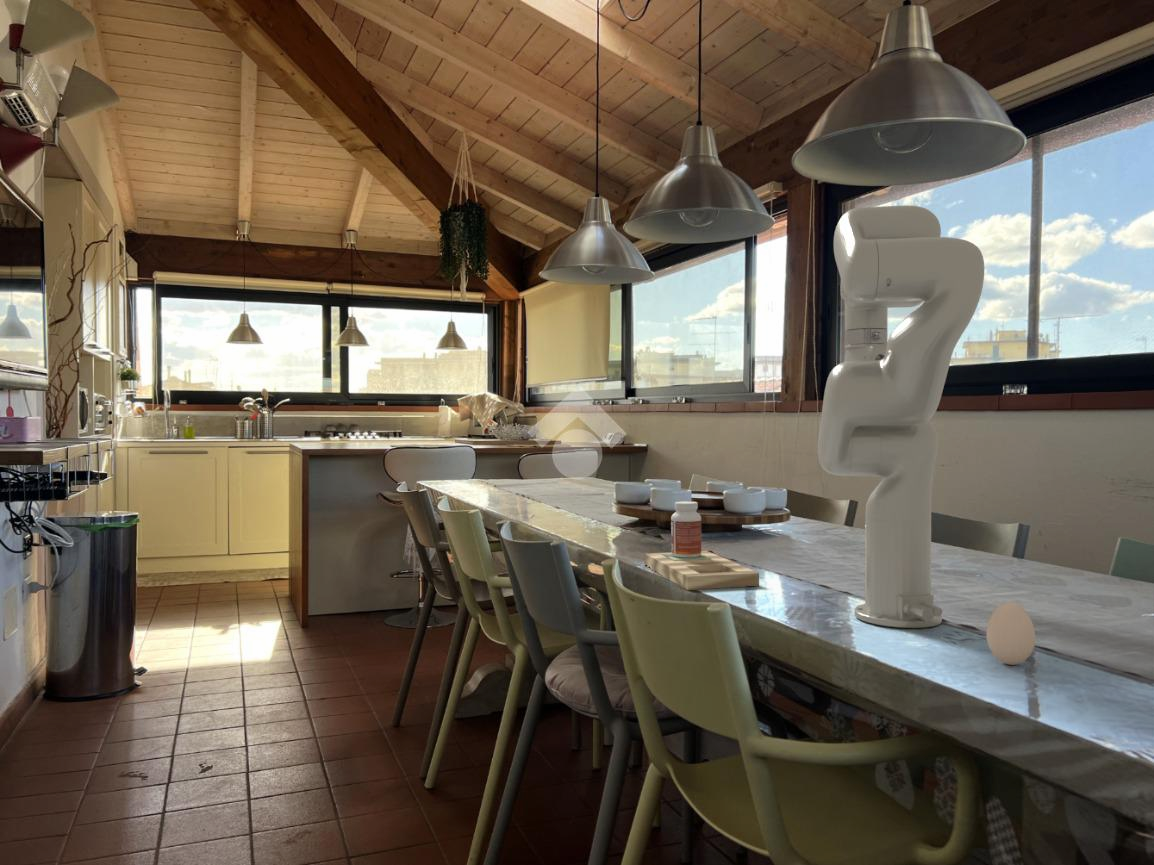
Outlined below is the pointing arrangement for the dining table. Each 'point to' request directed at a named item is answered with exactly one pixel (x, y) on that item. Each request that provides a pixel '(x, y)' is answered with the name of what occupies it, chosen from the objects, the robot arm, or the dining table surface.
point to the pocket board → (701, 571)
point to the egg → (1010, 633)
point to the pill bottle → (686, 530)
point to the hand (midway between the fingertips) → (865, 432)
